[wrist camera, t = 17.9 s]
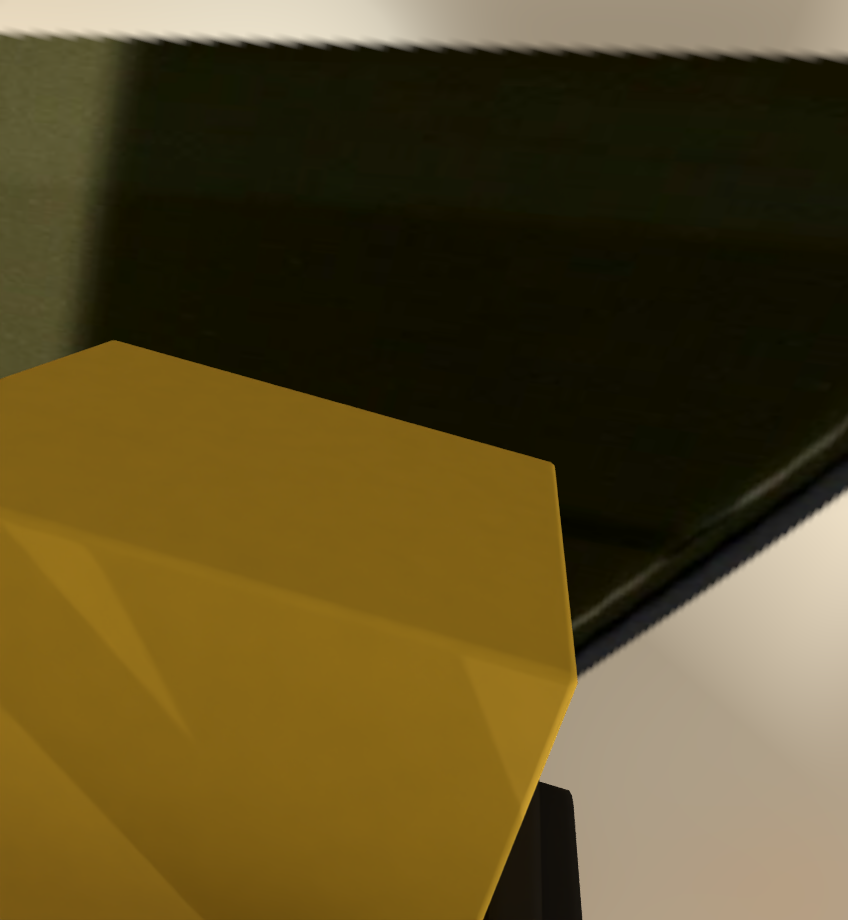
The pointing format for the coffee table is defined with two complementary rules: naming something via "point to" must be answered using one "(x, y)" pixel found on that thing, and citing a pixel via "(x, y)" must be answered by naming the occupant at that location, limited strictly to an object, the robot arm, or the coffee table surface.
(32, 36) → the coffee table surface
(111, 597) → the sponge
